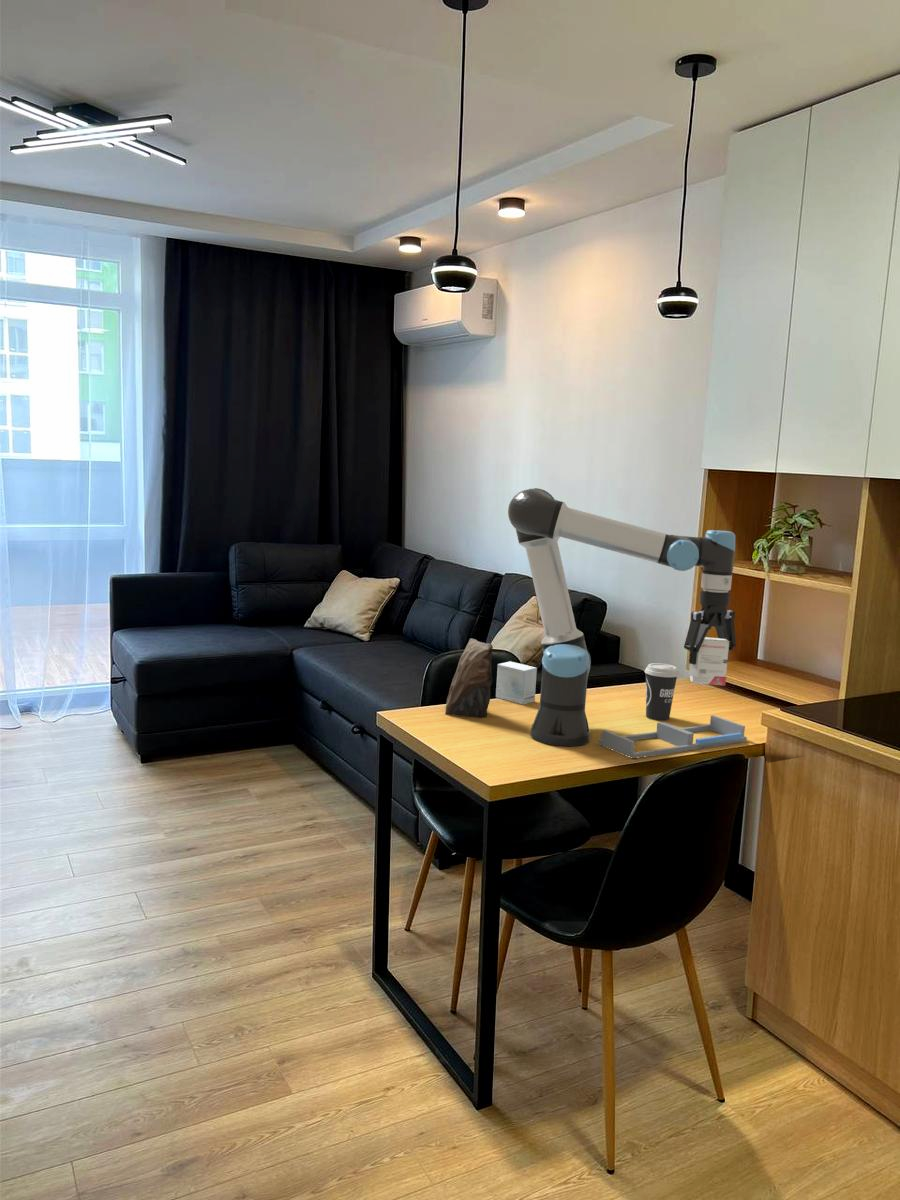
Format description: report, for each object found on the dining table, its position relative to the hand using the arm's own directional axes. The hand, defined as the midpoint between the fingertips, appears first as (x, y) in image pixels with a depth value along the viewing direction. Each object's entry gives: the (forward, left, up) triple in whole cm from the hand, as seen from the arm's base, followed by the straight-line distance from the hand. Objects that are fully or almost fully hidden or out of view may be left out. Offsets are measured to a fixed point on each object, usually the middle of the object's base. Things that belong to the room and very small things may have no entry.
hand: (707, 674), depth 241 cm
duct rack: (-10, 0, -17) cm, 20 cm away
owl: (-46, +45, -18) cm, 66 cm away
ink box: (0, 0, -2) cm, 2 cm away
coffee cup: (+4, +21, -18) cm, 27 cm away
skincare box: (-24, +52, -18) cm, 59 cm away
